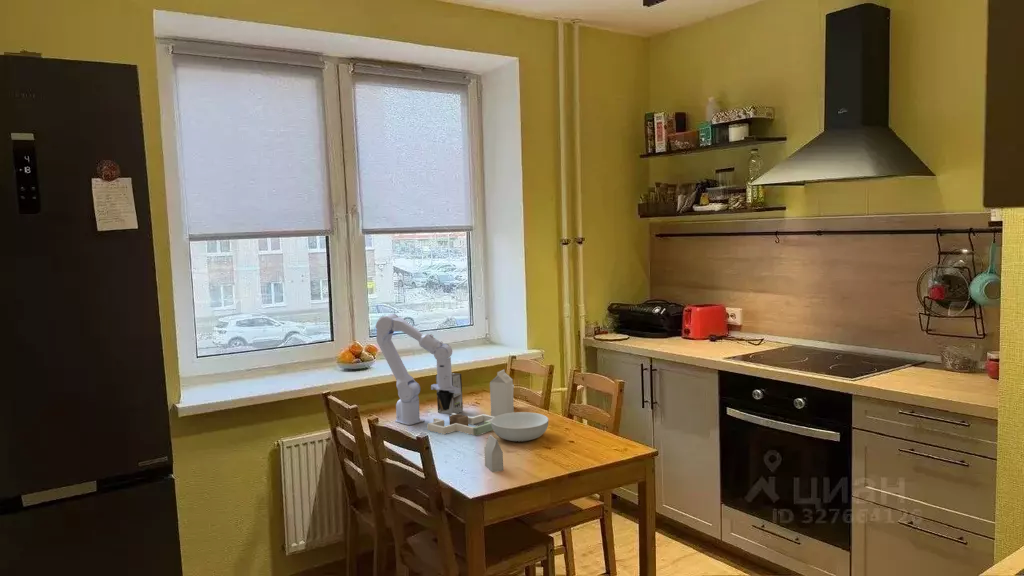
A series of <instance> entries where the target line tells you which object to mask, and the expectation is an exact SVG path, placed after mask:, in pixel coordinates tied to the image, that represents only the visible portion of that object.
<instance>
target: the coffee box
mask: <svg viewBox="0 0 1024 576" xmlns="http://www.w3.org/2000/svg"><path fill="white" fill-rule="evenodd" d="M462 380H463V379H462V373H457V372H455V373H454V372H452V386H454V387H457V388H460V393H458V394H455V393H454V394H453V396H452V399H451V402H450V406H449V409H448V410H443V407H442V404H441V401H440V399H439V397H438V396H437V395H436V401H437V413H439V414H447V415H451V414H452V413H455V414H460V413H462V411H463V412H464V408H463V407H464V405H463V383H462ZM435 382H436V383H435V384H438V382H437V374H436V375H435ZM437 392H439V390H436V393H437ZM459 412H460V413H459Z"/></svg>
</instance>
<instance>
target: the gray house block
mask: <svg viewBox="0 0 1024 576" xmlns="http://www.w3.org/2000/svg"><path fill="white" fill-rule="evenodd" d="M483 451H484V466H485V468H486V469H488V470H489V471H490V472H491V473H497V472H502V471H504V453H503V450H502V448H501V446H500V444H499V441H498V439H497V438H495V437H494V436H493V435H491V434H488V438H487V441H486V443H485V445H484V449H483Z"/></svg>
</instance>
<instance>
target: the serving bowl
mask: <svg viewBox="0 0 1024 576" xmlns="http://www.w3.org/2000/svg"><path fill="white" fill-rule="evenodd" d="M549 422H550V421H549V417H548V416H546V415H544V414H542V413H537V412H528V411H519V412H517V411H516V412H515V411H514V413H506V414H502V415H498V416H496V417H494V418H493V419H492V420H491V425H492V428H493V430H492V431H493V432H494V434H495V435H496V436H498V437H499V438H501V439H503V440H507V441H512V442H517V441H518V442H519V443H520V441H521V442H527V441H531V440H535V439H538V438H541V437H542V436H543V435H544V434H545V433H546V431H547V429H548V426H549Z"/></svg>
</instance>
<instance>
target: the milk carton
mask: <svg viewBox="0 0 1024 576" xmlns="http://www.w3.org/2000/svg"><path fill="white" fill-rule="evenodd" d="M496 374H497V375H496V376H495V377H493V378H492V379H491V380H490V382H489V391H490V392H489V395H490V396H489V398H490V416H494V417H496V416H498V415H502V414H506V413H515V409H514V406H515V405H514V402H515V401H514V390H513V385H514V382H513V381H514V379H513V378H512V376H510V375H509V374H507V373H506V371H505V369H502V370H499V371H497V372H496Z"/></svg>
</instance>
